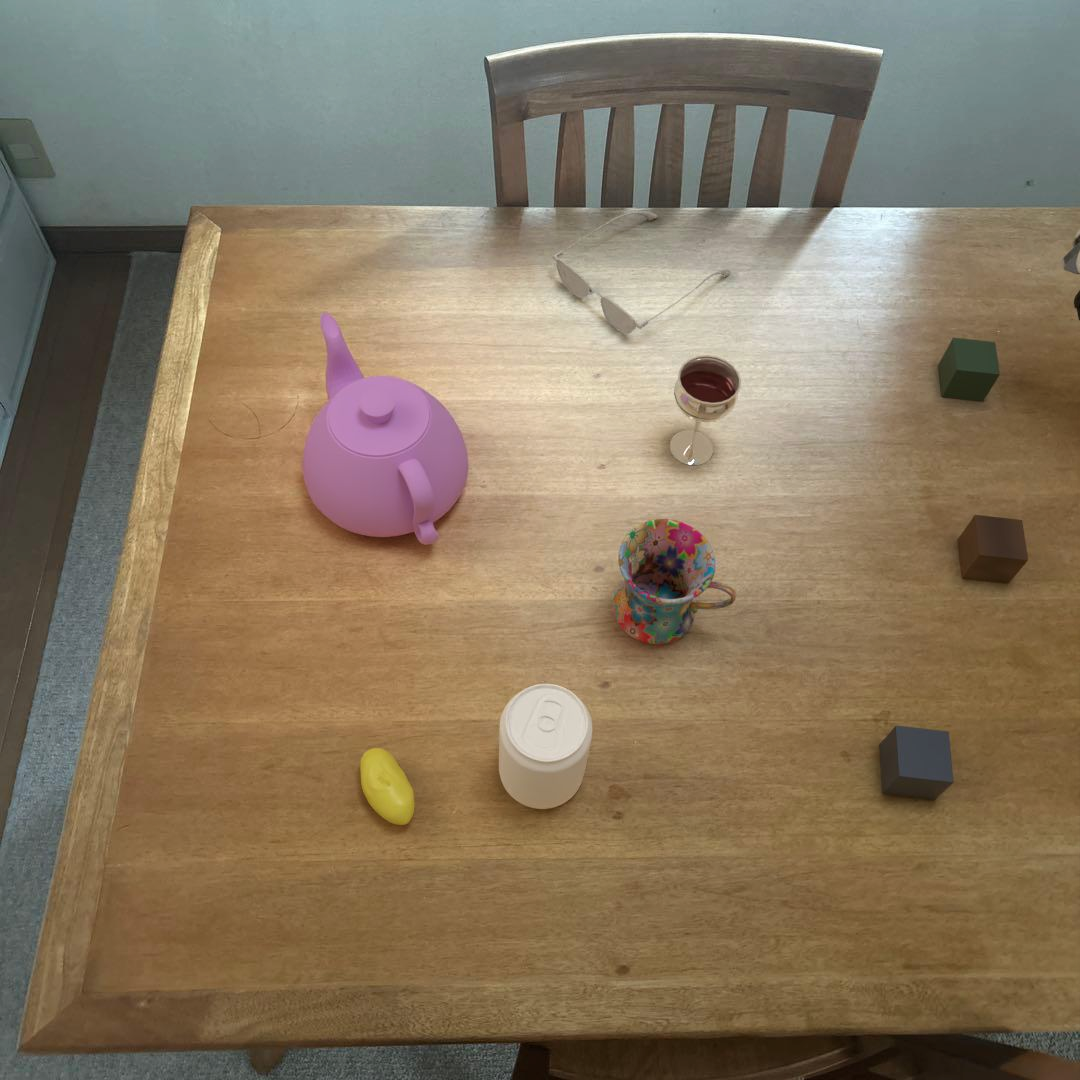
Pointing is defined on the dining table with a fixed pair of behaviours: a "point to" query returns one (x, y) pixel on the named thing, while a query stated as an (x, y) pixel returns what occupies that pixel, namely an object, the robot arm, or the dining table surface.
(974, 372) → the green block
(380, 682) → the dining table surface
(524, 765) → the beverage can
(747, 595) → the dining table surface
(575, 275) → the eyeglasses
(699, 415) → the wineglass
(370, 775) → the yellow potato
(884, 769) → the block
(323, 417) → the teapot
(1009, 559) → the walnut block
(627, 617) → the mug
